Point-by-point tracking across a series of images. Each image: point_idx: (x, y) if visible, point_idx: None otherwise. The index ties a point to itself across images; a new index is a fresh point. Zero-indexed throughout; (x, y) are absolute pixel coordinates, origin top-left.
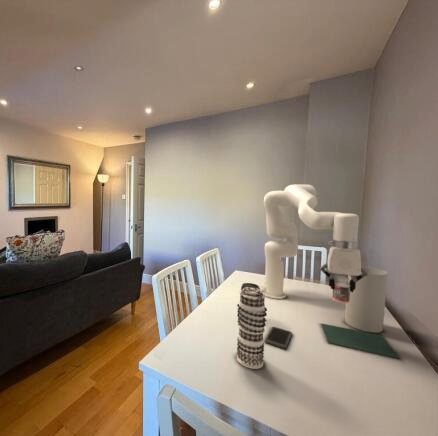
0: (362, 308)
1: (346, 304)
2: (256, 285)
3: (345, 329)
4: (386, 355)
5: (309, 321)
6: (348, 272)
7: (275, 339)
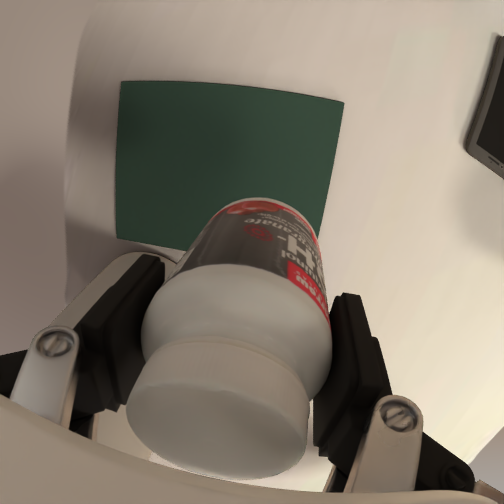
0: None
1: None
2: None
3: None
4: (152, 81)
5: (349, 284)
6: (58, 493)
7: None
